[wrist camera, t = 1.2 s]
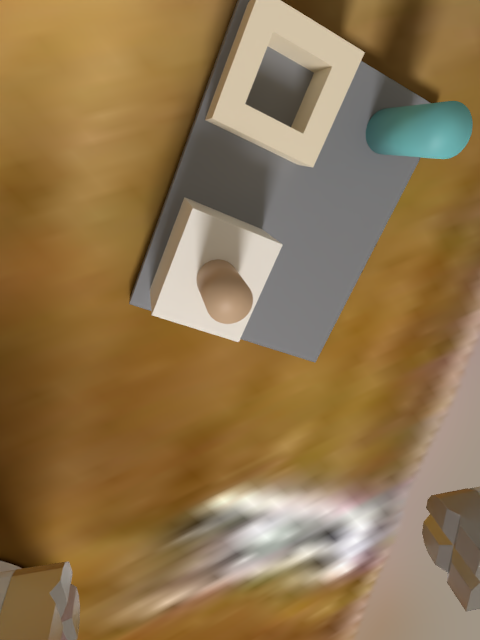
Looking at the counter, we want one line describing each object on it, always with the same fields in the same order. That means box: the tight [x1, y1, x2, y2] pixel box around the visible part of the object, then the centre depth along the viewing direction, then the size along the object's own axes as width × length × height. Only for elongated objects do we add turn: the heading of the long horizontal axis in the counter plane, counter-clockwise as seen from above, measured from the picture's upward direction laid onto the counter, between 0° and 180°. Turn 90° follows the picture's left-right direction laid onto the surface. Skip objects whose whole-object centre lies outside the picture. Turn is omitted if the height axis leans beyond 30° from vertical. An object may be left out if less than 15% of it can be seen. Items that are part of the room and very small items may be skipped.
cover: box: [150, 197, 283, 342], centre depth 28 cm, size 7×6×9 cm
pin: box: [366, 101, 472, 159], centre depth 28 cm, size 3×3×7 cm
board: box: [129, 0, 430, 362], centre depth 31 cm, size 21×16×4 cm
